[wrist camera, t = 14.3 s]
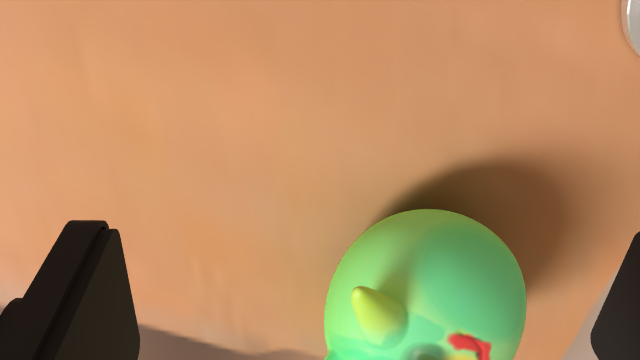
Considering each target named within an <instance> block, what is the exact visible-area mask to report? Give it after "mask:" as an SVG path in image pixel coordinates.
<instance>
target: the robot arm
mask: <svg viewBox="0 0 640 360" xmlns="http://www.w3.org/2000/svg"><path fill="white" fill-rule="evenodd" d="M621 21H622V26H623V31H624V35H625V37H626V39H627V41H628V43H629V45H630V47H631V48H632V49H633V50H634V52H635V53H636V54H637V55H638V56H639V57H640V0H622V2H621ZM591 345H592V348H593V350H594V352H595V354H596V355H597V357H598V359H599V360H640V232H638V233H637V234H636V235H635V236H634V238H633V240H632V243H631V245H630V247H629V249H628V251H627V254H626V256H625V258H624V260H623V262H622V265H621V267H620V269H619V271H618V274H617V276H616V278H615V280H614V282H613V285H612V287H611V289H610V291H609V294H608V296H607V298H606V300H605V302H604V305H603V307H602V309H601V311H600V314H599V316H598V318H597V320H596V322H595V325H594V327H593V329H592V332H591ZM139 349H140V335H139V330H138V325H137V320H136V315H135V310H134V304H133V299H132V294H131V289H130V284H129V279H128V274H127V269H126V264H125V258H124V253H123V248H122V243H121V238H120V234H119V231H118V230H117V229H109V226H108V224H107V223H106V221H99V220H71V221H69V222H68V223H67V224H66V225H65V227H64V229H63V230H62V232H61V234H60V235H59V237H58V239H57V241H56V242H55V244H54V246H53V247H52V249H51V251H50V252H49V254H48V256H47V258H46V259H45V261H44V263H43V264H42V266H41V268H40V269H39V271H38V273H37V275H36V276H35V278H34V280H33V281H32V283H31V285H30V286H29V288H28V290H27V292H26V293H25V295H24V297H23V298H15V299H14V300H12V301H11V302H9V304H8V305H7V306H6V307H5V309H4V310H3V312H2V313H1V315H0V360H137V359H138V355H139Z"/></svg>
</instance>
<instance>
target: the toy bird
mask: <svg viewBox="0 0 640 360" xmlns="http://www.w3.org/2000/svg"><path fill="white" fill-rule="evenodd" d="M526 304H527V303H526V289H525V283H524V279H523V275H522V272H521V269H520V267H519V264H518V262H517V260H516V259H515V257H514V255H513V254H512V252H511V251H510V249H509V248H508V247H507V245H506V244H505V243H504V242H503V241H502V240H501V239H500V238H499V237H498V236H497V235H496V234H495V233H494V232H492V231H491V230H490V229H488V228H487V227H486V226H484V225H482V224H481V223H479V222H477V221H475V220H473V219H471V218H469V217H467V216H464V215H461V214H458V213H455V212H451V211H446V210H439V209H417V210H410V211H405V212H401V213H398V214H395V215H392V216H389V217H387V218H385V219H383V220H381V221H379V222H377V223H376V224H374V225H373V226H371V227H370V228H369V229H367V230H366V231H365V232H364V233H363V234H362V235H361V236H359V237H358V238H357V240H356V241H355V242H354V243H353V244H352V245H351V246H350V248H349V249H348V250H347V252H346V253H345V255H344V256H343V258H342V259H341V261H340V263H339V265H338V267H337V269H336V271H335V273H334V276H333V278H332V281H331V284H330V287H329V290H328V294H327V299H326V304H325V312H324V332H325V340H326V345H327V349H328V353H327V355H326V357H325V358H324V360H512V359H513V357H514V355H515V353H516V351H517V349H518V346H519V343H520V340H521V337H522V334H523V330H524V325H525V318H526Z"/></svg>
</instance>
